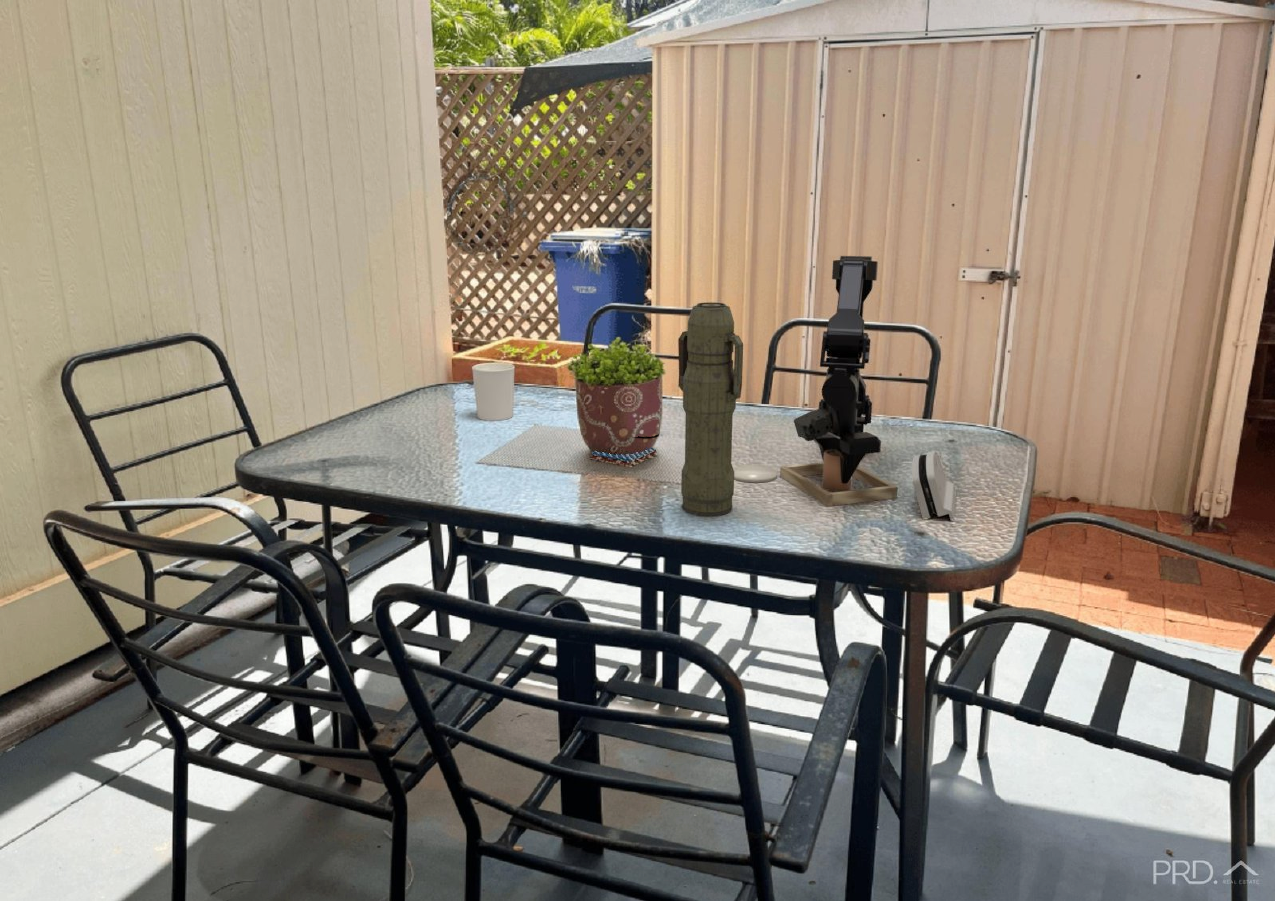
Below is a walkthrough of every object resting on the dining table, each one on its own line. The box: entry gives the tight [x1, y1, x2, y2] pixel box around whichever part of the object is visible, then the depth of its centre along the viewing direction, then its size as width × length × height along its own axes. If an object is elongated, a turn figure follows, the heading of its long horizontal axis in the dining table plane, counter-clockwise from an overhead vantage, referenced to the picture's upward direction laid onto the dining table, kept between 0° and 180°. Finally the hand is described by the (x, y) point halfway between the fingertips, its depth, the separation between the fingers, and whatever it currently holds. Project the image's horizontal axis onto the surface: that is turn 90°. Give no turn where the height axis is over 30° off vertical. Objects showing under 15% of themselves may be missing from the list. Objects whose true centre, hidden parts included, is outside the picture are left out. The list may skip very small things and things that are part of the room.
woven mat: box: [590, 447, 658, 468], centre depth 201 cm, size 10×11×2 cm
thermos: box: [677, 301, 744, 517], centre depth 166 cm, size 9×12×35 cm
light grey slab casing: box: [911, 451, 957, 521], centre depth 172 cm, size 17×5×10 cm, turn 162°
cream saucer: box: [732, 464, 778, 484], centre depth 189 cm, size 9×9×1 cm
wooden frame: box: [779, 461, 899, 507], centre depth 182 cm, size 14×18×2 cm
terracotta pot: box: [821, 449, 852, 492], centre depth 181 cm, size 5×5×6 cm
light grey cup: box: [471, 362, 516, 422], centre depth 232 cm, size 10×10×12 cm
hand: (836, 478), depth 182 cm, fingers closed on terracotta pot, 5 cm apart
